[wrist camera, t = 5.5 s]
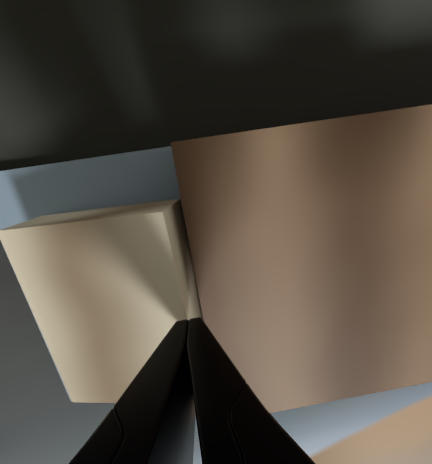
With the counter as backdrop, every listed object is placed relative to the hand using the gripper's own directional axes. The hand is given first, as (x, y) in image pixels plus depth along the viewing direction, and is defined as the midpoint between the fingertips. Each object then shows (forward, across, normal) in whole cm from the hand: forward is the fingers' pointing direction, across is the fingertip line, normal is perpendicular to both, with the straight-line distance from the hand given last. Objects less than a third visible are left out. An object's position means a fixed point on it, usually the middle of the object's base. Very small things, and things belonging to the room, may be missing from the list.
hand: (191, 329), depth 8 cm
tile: (+3, +3, 0) cm, 4 cm away
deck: (+4, -7, 0) cm, 8 cm away
